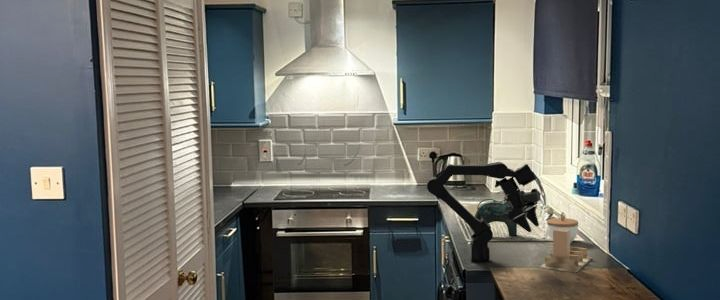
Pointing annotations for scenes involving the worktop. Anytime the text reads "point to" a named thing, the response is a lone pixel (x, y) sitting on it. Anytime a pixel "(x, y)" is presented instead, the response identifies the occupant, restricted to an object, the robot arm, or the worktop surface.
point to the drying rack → (568, 260)
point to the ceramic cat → (497, 213)
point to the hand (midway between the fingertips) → (534, 228)
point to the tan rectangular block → (561, 243)
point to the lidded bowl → (563, 226)
